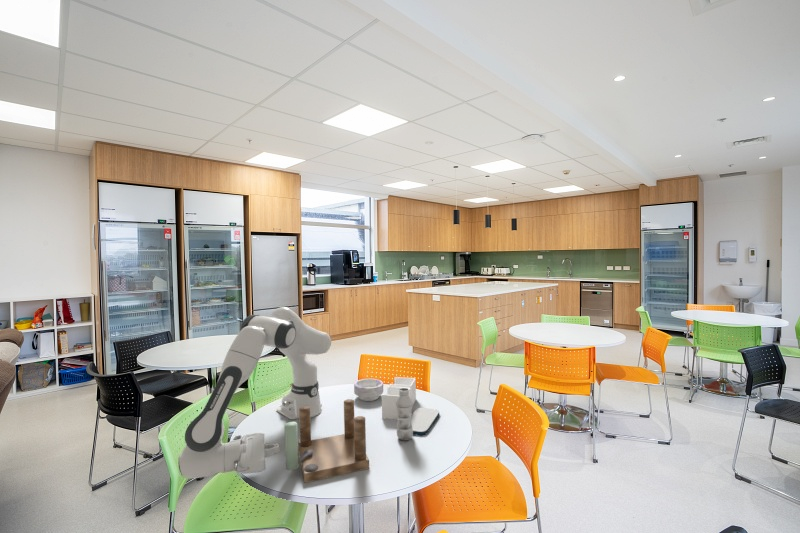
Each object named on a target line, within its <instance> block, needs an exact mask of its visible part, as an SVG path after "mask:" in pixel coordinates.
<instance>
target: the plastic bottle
mask: <svg viewBox="0 0 800 533" xmlns="http://www.w3.org/2000/svg"><path fill="white" fill-rule="evenodd" d="M399 395H400V396H399V397H398V399H397V400H396V407H397V414H398V419H397V425H396V436H397V438H398V439H399V440H401V441H409V440H411V439H412V438H413V436H414V434H413V428H412V422H411V415H412V410H413V409H412V408H413V406H412V400H411V398H410V397H409V396H408V395H409V390H408V389H407V388H401V389H400V390H399Z"/></svg>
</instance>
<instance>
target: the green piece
mask: <svg viewBox="0 0 800 533" xmlns="http://www.w3.org/2000/svg"><path fill="white" fill-rule="evenodd" d="M284 437H285V438H284V440H285V442H284V443H285V447H284V448H285V468H286V470H287V471H293V470H296V469H298V468H299V464H301V462H302V461H303V460H305V459H306V458H307V457H309V456H311V455H313V451H312V450H306V451H304V453H303V454H302V455H301V456H299V451H298V443H299V440H298V437H299V436H298V423H297V422H296V421H289V422H286V423H285V424H284Z"/></svg>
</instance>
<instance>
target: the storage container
mask: <svg viewBox="0 0 800 533" xmlns="http://www.w3.org/2000/svg"><path fill="white" fill-rule="evenodd" d="M393 382H394V383H389V386H387V388H386V391H387V392H386V393H387V394H384V393H382V394H381V418H382V419H386V418H388V419H389V420H398V414H397V407H396V400H397V399H398V397H399V396H400V395H399V390H400V389H401V388H407V389H408V390H409V395H408V396H409V397H410V398H411V400H412V407H413V406H414V404H415V402H416V399H417V393H416V392H417V389H416V388H417V387H416V386H417V385H416V383H417V381H416V377H415V378H414V377H401V376H400V377H399V376H394V380H393Z"/></svg>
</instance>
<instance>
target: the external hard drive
mask: <svg viewBox="0 0 800 533" xmlns="http://www.w3.org/2000/svg"><path fill="white" fill-rule="evenodd" d="M439 416H440V411H439V410H437V409H434V408H426V407H418V408H416V409H415V410H414V411H413V412H412V413H411V422H412V428H413V436H414V435H415V436H425V435H427V434H428V433H429V432H430V431H431V429H432V427H433V426H434V424H435V423H436V421H437V420H438V418H439Z"/></svg>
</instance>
